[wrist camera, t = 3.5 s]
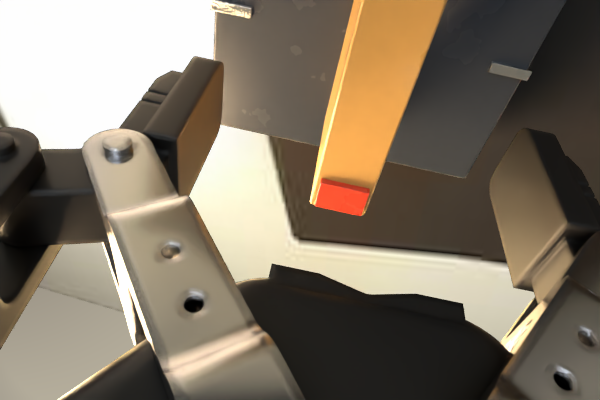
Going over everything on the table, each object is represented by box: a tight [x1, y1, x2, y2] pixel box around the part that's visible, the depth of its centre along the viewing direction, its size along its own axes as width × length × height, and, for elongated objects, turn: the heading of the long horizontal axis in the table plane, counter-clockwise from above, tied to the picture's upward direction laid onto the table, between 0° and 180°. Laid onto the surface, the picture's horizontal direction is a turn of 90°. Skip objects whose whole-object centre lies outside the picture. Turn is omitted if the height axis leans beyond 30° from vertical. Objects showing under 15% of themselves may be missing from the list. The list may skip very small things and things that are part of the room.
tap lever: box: [310, 0, 448, 216], centre depth 14 cm, size 7×2×5 cm, turn 171°
